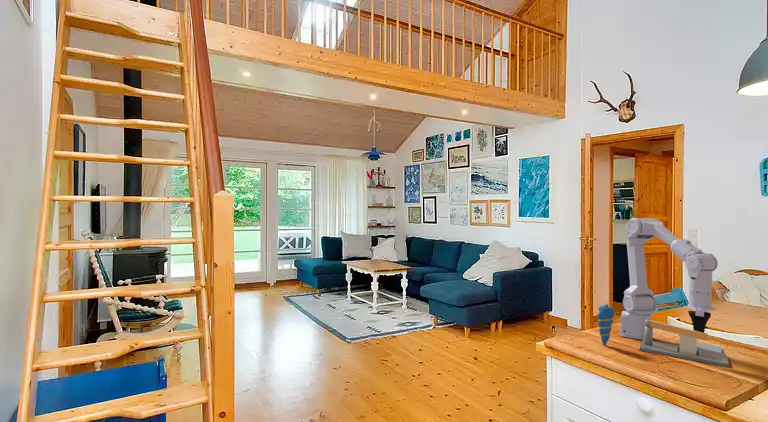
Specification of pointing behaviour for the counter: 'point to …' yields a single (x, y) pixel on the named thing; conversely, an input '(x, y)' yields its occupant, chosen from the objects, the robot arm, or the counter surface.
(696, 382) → the counter surface
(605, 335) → the ornament
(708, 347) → the rest pad
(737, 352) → the counter surface
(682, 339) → the plug
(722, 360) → the socket block
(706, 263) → the robot arm
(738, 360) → the counter surface
